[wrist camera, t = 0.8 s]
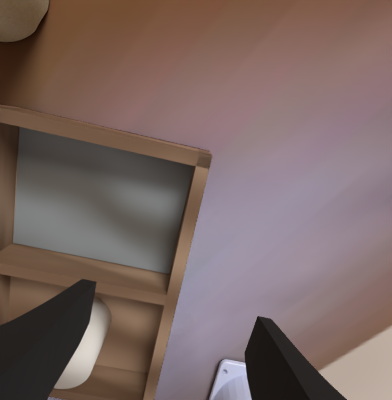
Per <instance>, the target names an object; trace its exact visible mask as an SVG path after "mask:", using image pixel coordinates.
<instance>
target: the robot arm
mask: <svg viewBox="0 0 392 400" xmlns="http://www.w3.org/2000/svg"><path fill="white" fill-rule="evenodd" d="M96 283H97V282H96V281H91V280H86V279H81V280H80V281H78V282H76V283H75V284H73V285H72V286H70V287H69V288H67V289H65V290H64V291H62V292H61V293H59V294H58V295H56V296H54V297H53V298H51V299H49V300H48V301H46V302H45V303H43V304H41V305H39V306H38V307H36V308H34V309H32V310H30V311H29V312H27V313H25V314H23V315H21V316H19V317H17V318H15V319H13V320H11V321H9V322H7V323H5V324H2V325H0V400H47V398H48V397H49V395H50V393H51V392H52V390H53V388H54V387H55V385H56V383H57V381H58V380H59V378H60V376H61V375H62V373H63V371H64V370H65V368H66V366H67V365H68V363H69V361H70V360H71V358H72V356H73V355H74V353H75V351H76V350H77V348H78V346H79V344H80V342H81V340H82V338H83V336H84V334H85V331H86V329H87V327H88V325H89V322H90V318H91V312H92V306H93V300H94V295H95V289H96ZM209 400H347V399H345V398H344V397H343V396H342V395H341V394H340V393H339V392H338V391H337V390H336V389H335V388H334V387H333V386H331V385H330V384H329V383H328V382H327V381H326V380H325V379H324V378H323V376H321V374H320V373H319V372H318V371H317V370H316V369H315V368H314V367H313V366H312V365H311V364H310V363H309V362H308V361H307V360H306V358H305V357H304V356H303V355H302V354H301V353H300V352H299V351H298V349H297V348H296V347H295V346H294V345H293V344H292V342H291V341H290V340H289V339H288V338H287V337H286V335H285V334H284V333H283V332H282V331H281V330H280V328H279V327H278V326H277V325H276V324H275V323H274V322H273V321H272V320H271V319H269V318H264V317H260V316H258V317H257V320H256V322H255V325H254V328H253V331H252V334H251V337H250V339H249V342H248V345H247V348H246V351H245V363H243V362H238V361H232V360H227V359H225V360H222V361H221V362H220V365H219V368H218V371H217V375H216V378H215V381H214V384H213V388H212V391H211V394H210V397H209Z"/></svg>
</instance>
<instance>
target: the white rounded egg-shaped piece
mask: <svg viewBox="0 0 392 400" xmlns="http://www.w3.org/2000/svg"><path fill="white" fill-rule="evenodd" d="M111 323H112V315H111V312H110V309H109V308H108V306H107V305H106V304H105V303H104V302H103V301H102V300H101V299H99V298H97V297H95V296H94V300H93V306H92V312H91V318H90V322H89V325H88V327H87V329H86V331H85V334H84V336H83V338H82V340H81V342H80V344H79V346H78V348H77V350H76V351H75V353H74V355H73V356H72V358H71V360H70V361H69V363H68V365H67V366H66V368H65V370H64V371H63V373H62V375H61V376H60V378H59V380H58V381H57V383H56V385H55V387H54V388H56V389H69V388H73V387H76V386H79V385H80V384H82V383H83V382H85V381H86V380H87V379H88V377H89V376H90V374H91V371H92V369H93V366H94V364H95V362H96V359H97V357H98V355H99V352H100V350H101V348H102V345H103V343H104V340H105V338H106V336H107V333H108V331H109V329H110V326H111Z"/></svg>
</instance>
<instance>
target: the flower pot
mask: <svg viewBox="0 0 392 400" xmlns="http://www.w3.org/2000/svg"><path fill="white" fill-rule="evenodd" d="M48 5H49V0H0V42H14V41H18V40H22V39H24V38H26V37H28V36H30V35H31V34H32V33H34V32H35V30H36V28H37V26H38V24H39V23H40V21H41V19H42V18H43V16H44V15H45V13H46V12H47V10H48Z"/></svg>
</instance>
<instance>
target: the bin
mask: <svg viewBox="0 0 392 400" xmlns="http://www.w3.org/2000/svg"><path fill="white" fill-rule="evenodd" d="M211 159H212V155H211V153H210V151H208V150H203V149H199V148H195V147H190V146H186V145H182V144H177V143H173V142H168V141H164V140H160V139H155V138H151V137H147V136H142V135H138V134H134V133H129V132H125V131H120V130H116V129H112V128H107V127H103V126H99V125H94V124H90V123H86V122H81V121H77V120H72V119H68V118H64V117H59V116H55V115H51V114H46V113H42V112H38V111H33V110H29V109H24V108H20V107H16V106H7V105H0V325H2V324H5V323H7V322H9V321H11V320H13V319H15V318H17V317H19V316H21V315H23V314H25V313H27V312H29V311H30V310H32V309H34V308H36V307H38V306H39V305H41V304H43V303H45V302H46V301H48V300H49V299H51V298H53V297H54V296H56V295H58V294H59V293H61V292H62V291H64V290H65V289H67V288H69V287H70V286H72V285H73V284H75V283H76V282H78V281H80V280H81V279H86V280H91V281H96V282H97V283H96V289H95V295H94V296H95V297H97V298H99V299H101V300H102V301H103V302H104V303H105V304H106V305H107V306H108V308H109V309H110V312H111V315H112V323H111V326H110V329H109V331H108V333H107V336H106V338H105V340H104V343H103V345H102V348H101V350H100V352H99V355H98V357H97V359H96V362H95V364H94V366H93V369H92V371H91V374H90V376H89V377H88V379H87V380H86V381H85V382H83V383H82V384H80V385H79V386H76V387H73V388H69V389H56V388H53V390H52V392H51V393H50V395H49V397H54V398H60V399H66V400H154V397H155V393H156V389H157V385H158V380H159V376H160V372H161V368H162V364H163V360H164V355H165V351H166V347H167V343H168V339H169V334H170V330H171V326H172V322H173V318H174V314H175V309H176V305H177V301H178V297H179V293H180V289H181V284H182V280H183V276H184V272H185V268H186V264H187V259H188V255H189V251H190V247H191V243H192V238H193V234H194V230H195V226H196V222H197V218H198V213H199V209H200V205H201V201H202V197H203V193H204V188H205V184H206V180H207V176H208V172H209V168H210V163H211Z"/></svg>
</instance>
